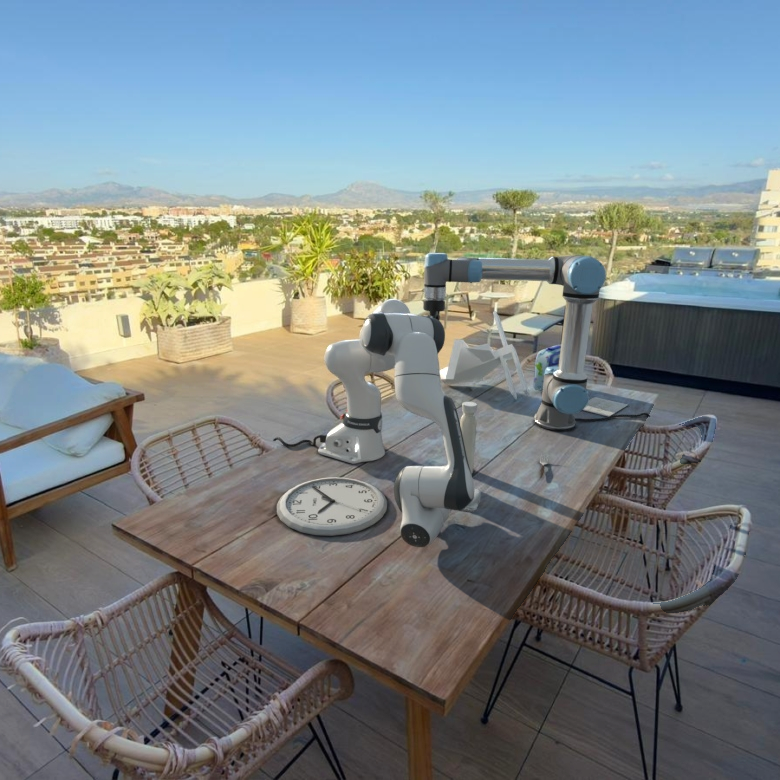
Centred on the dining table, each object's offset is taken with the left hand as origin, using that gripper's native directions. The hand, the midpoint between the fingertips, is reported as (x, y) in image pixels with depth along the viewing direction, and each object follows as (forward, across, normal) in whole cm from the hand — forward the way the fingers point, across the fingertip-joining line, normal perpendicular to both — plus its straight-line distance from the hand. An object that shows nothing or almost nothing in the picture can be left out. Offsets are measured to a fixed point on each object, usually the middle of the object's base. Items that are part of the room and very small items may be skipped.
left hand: (448, 480), depth 145 cm
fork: (+31, -23, +6) cm, 39 cm away
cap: (+20, 0, -16) cm, 26 cm away
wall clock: (-15, +28, +6) cm, 33 cm away
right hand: (+48, +20, -22) cm, 57 cm away
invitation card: (+105, -40, +6) cm, 112 cm away
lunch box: (+123, -19, +6) cm, 125 cm away
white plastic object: (+104, +13, +6) cm, 104 cm away
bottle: (+20, 0, +6) cm, 21 cm away
